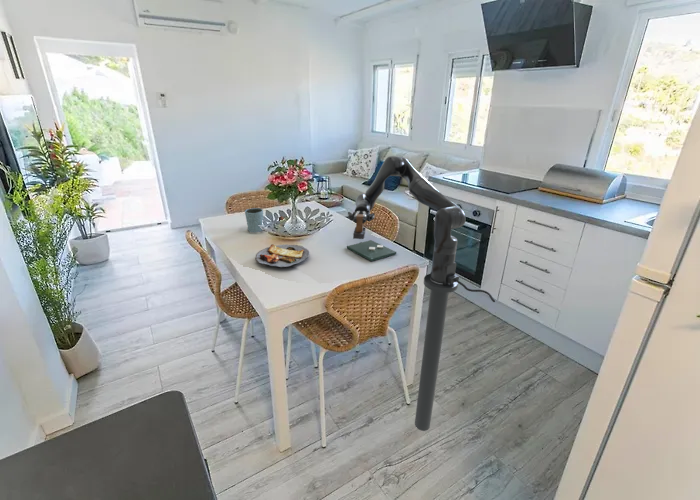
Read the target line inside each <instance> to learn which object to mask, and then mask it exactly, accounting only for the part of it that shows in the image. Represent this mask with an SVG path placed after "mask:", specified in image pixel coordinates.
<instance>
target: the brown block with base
mask: <svg viewBox="0 0 700 500" xmlns="http://www.w3.org/2000/svg"><path fill="white" fill-rule="evenodd" d="M363 216H364V214H357V216H356V223H355V227H354V230H353V233H352V239H356V240H364V239H365V236H366V228H367V227H364V223H362V222H363Z"/></svg>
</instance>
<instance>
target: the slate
mask: <svg viewBox="0 0 700 500" xmlns="http://www.w3.org/2000/svg"><path fill="white" fill-rule="evenodd" d="M377 245H381V243H378V242H376V241H374V240H371V239H370V240H366V241H361V242H358V243H353V244H349V245H347V246H346V249H347V250H349V251H351V252H353V253H355V254H357V255H359V256H360V257H363V258H364V259H366V260H368V261H370V262H374V261H377V260H380V259H385V258H387V257H391V256H395V255H397V251H395V250H393V249H391V248H389V247H387V246H384V245H383V248H377ZM369 247H375V250H369Z"/></svg>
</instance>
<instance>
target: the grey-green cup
mask: <svg viewBox="0 0 700 500" xmlns="http://www.w3.org/2000/svg"><path fill="white" fill-rule="evenodd" d="M244 215H245V220H246V225H247V229H248V232H249V233H259V232H263V231H264V230H262V229H261V228H260V227H259V226H258V225H262V220H263V221H264V210H263V208H259V207H251V208H247V209H245V210H244Z"/></svg>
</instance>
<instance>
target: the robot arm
mask: <svg viewBox="0 0 700 500" xmlns="http://www.w3.org/2000/svg"><path fill="white" fill-rule="evenodd" d="M390 177H401V178H402V179H403V180H405V181H406V182H407V188H408V191H409V193H410V195H411V196H412V197H413V198H414V199H415V200H416V201H417V202H418V203H420V204H422V205H424V206H427V207H429V208H431V209H433V210H436V213H435V216H434V221H433V222H434V224H433V238H434V245H433V253H432V260H431V270H430V273H429V274H430V275H431V277H430V280H431V281H432V282H433V283H435V284H438V285H443V286H446V285H449V284H452V283H454V282H457V283H458V285H460V286H461V287H463V288H464V290H466V291H468V292H470V293H471V292H473V293H484V294H486V295H487V296H488V297H489V298H490V301H492V303H496V300H495V298H494V297H493V295H492V294H491V293H490V292H489V291H487V290H484V289H473V288H469V287H467V285H465V284H464V283H463V282H462V281H459V280H460V275H458V274H456V270H457V262H456V254H457V248H458V238H457V237H455V236H454V235H452V230H456V229H459V228H462V227H463V226H464V225H465V224H466V220H467V219H466V218H467V217H466V214H465V212H464V210H463V209H462V208H461V207H460V206H459V205H457V204H456V203H455V202H453V201H452V200H450V199H449V198H447V196H446V195H444V194H443V193H442V192H440V191H439V189H437V188H436V187H435V186H434V185H433V184H431V182H429V180H427V179H426V178H425V177H424V176H423V175H422V174H421V173H420V172H419V171H417V170H416V169H415V168H414V166H413V165H412V164H411V163H410V162H409V160H408V159H407V158H405V157H403V156H398V155H397V156H396V155H390V156H387V157H386V158H385V159H384V161H383V163H382V164H381V166H380V168H379V170H378V172H377V174H376V176H375V179H374V180H373V182H372V183H371V184H370V186H369V187H368V188H367V189H366V191H365V194H364V193H360V194H359V195H357V197H356V198H355V202H354V203H355V205H356V206H355V209H354V211H353V212H350V211H348V212H347V218H348V219H349V220H350V221H353V223H354V224H356V216H357V214H364V216H363V222H362V223H363V224H365V223H367V222H371V221H373V220H374V219H375V216H376V215H375V213H373V212H372V213H371V211H372V210H373V208H374V207H375V203H376V201H377V199H378V198H379V197H380V196H381V195H382V194H383V192H384V191H385V190H384V189H385V181H386V180H387V179H388V178H390Z"/></svg>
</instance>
